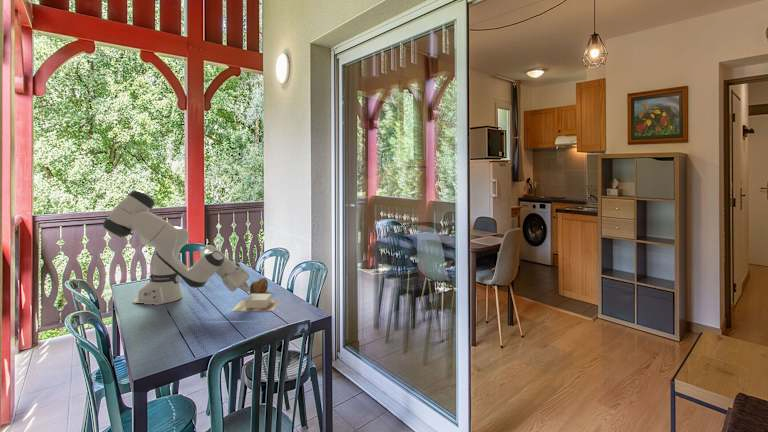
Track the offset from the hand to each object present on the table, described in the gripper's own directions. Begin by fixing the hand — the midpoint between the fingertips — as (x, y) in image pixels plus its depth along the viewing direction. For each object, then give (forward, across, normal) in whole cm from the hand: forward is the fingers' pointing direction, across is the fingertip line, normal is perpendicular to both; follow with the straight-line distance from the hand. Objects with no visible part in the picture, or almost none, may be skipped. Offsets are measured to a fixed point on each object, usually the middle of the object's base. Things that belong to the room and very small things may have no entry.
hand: (248, 290), depth 187 cm
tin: (+6, +18, +6) cm, 20 cm away
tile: (+4, 0, +4) cm, 5 cm away
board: (+8, 0, +3) cm, 9 cm away
